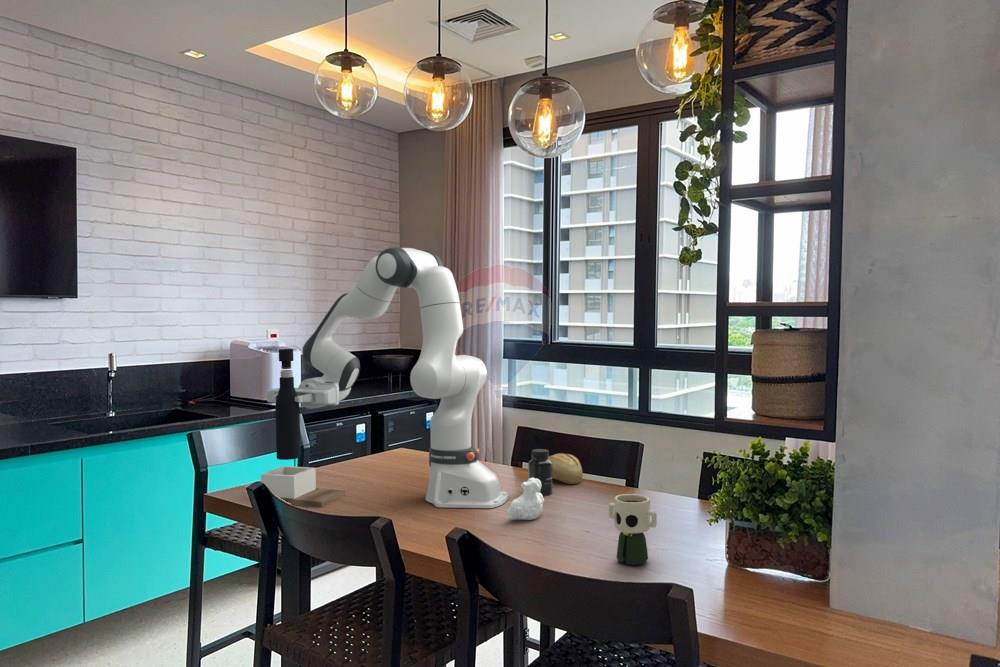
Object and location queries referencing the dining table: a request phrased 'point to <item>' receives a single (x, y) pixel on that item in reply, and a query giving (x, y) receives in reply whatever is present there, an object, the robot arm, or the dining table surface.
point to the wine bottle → (287, 412)
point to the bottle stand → (299, 486)
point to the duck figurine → (527, 502)
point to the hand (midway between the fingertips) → (285, 399)
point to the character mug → (632, 526)
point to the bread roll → (566, 468)
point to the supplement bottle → (541, 470)
